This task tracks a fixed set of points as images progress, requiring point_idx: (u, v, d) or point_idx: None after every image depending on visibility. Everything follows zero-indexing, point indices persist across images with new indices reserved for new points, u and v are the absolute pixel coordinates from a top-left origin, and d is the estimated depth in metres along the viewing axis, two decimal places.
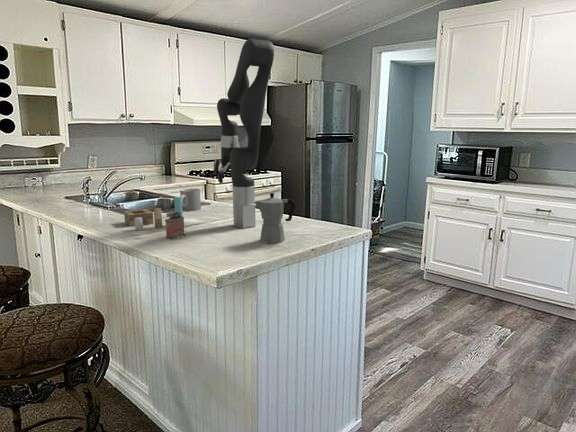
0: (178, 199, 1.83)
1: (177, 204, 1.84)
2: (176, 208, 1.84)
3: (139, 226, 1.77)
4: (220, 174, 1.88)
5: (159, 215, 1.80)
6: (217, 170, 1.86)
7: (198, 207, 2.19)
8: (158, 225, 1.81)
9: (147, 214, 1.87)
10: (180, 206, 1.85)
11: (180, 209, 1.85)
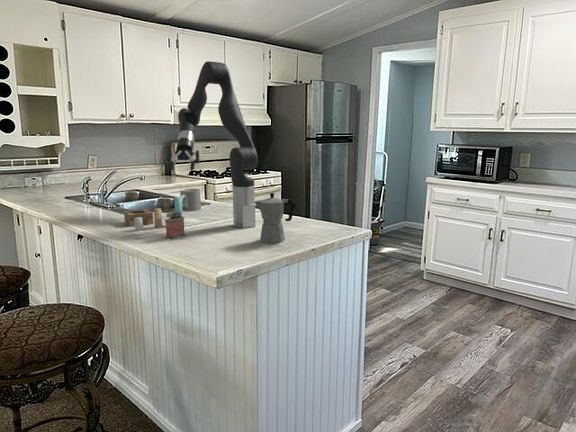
0: (178, 199, 1.83)
1: (177, 204, 1.84)
2: (176, 208, 1.84)
3: (139, 226, 1.77)
4: (171, 160, 1.95)
5: (159, 215, 1.80)
6: (168, 157, 1.96)
7: (198, 207, 2.19)
8: (158, 225, 1.81)
9: (147, 214, 1.87)
10: (180, 206, 1.85)
11: (180, 209, 1.85)
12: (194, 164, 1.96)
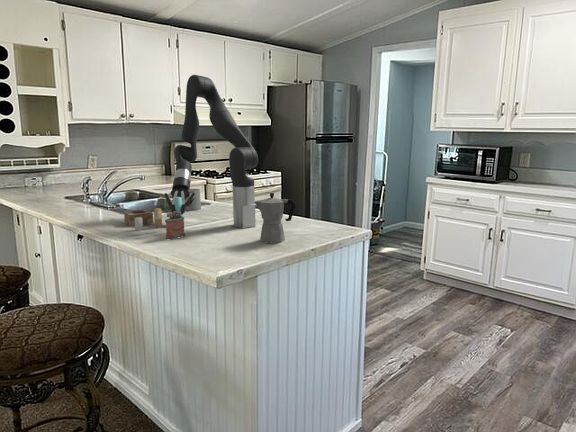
0: (178, 199, 1.83)
1: (177, 204, 1.84)
2: (176, 208, 1.84)
3: (139, 226, 1.77)
4: (172, 204, 1.85)
5: (159, 215, 1.80)
6: (168, 200, 1.86)
7: (198, 207, 2.19)
8: (158, 225, 1.81)
9: (147, 214, 1.87)
10: (180, 206, 1.85)
11: (180, 209, 1.85)
12: (185, 207, 1.86)
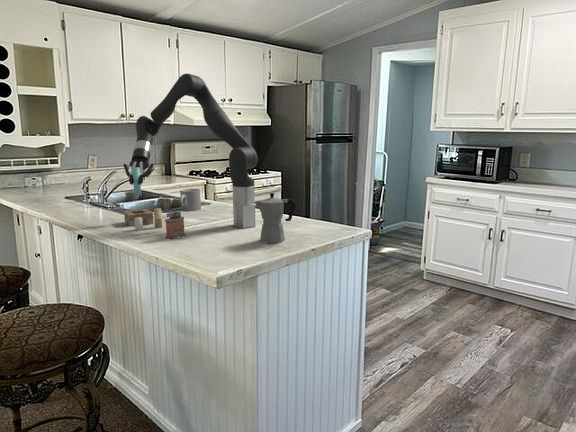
0: (136, 169, 1.85)
1: (135, 174, 1.85)
2: (134, 178, 1.86)
3: (139, 226, 1.77)
4: (130, 174, 1.86)
5: (159, 215, 1.80)
6: (127, 171, 1.87)
7: (198, 207, 2.19)
8: (158, 225, 1.81)
9: (147, 214, 1.87)
10: (138, 176, 1.86)
11: (138, 179, 1.86)
12: (143, 178, 1.87)
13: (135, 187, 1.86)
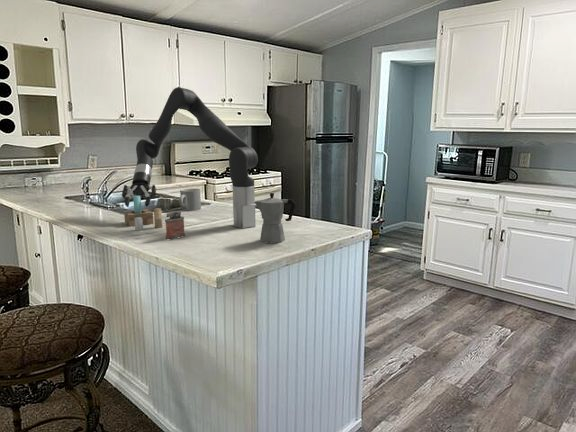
0: (137, 198, 1.87)
1: (136, 203, 1.87)
2: (135, 207, 1.88)
3: (139, 226, 1.77)
4: (126, 196, 1.89)
5: (159, 215, 1.80)
6: (123, 193, 1.90)
7: (198, 207, 2.19)
8: (158, 225, 1.81)
9: (147, 214, 1.87)
10: (139, 205, 1.88)
11: (139, 208, 1.88)
12: (149, 199, 1.90)
13: None
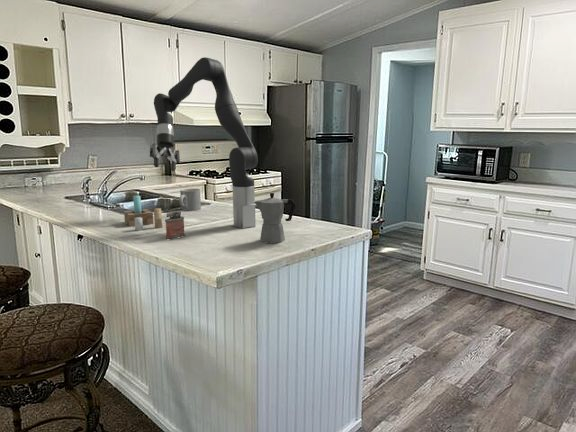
0: (137, 198, 1.87)
1: (136, 203, 1.87)
2: (135, 207, 1.88)
3: (139, 226, 1.77)
4: (156, 157, 1.92)
5: (159, 215, 1.80)
6: (154, 152, 1.91)
7: (198, 207, 2.19)
8: (158, 225, 1.81)
9: (147, 214, 1.87)
10: (139, 205, 1.88)
11: (139, 208, 1.88)
12: None
13: None
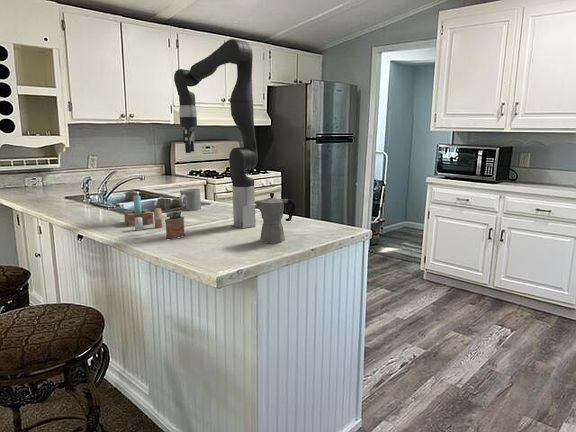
0: (137, 198, 1.87)
1: (136, 203, 1.87)
2: (135, 207, 1.88)
3: (139, 226, 1.77)
4: (190, 143, 1.92)
5: (159, 215, 1.80)
6: (189, 139, 1.90)
7: (198, 207, 2.19)
8: (158, 225, 1.81)
9: (147, 214, 1.87)
10: (139, 205, 1.88)
11: (139, 208, 1.88)
12: None
13: None
